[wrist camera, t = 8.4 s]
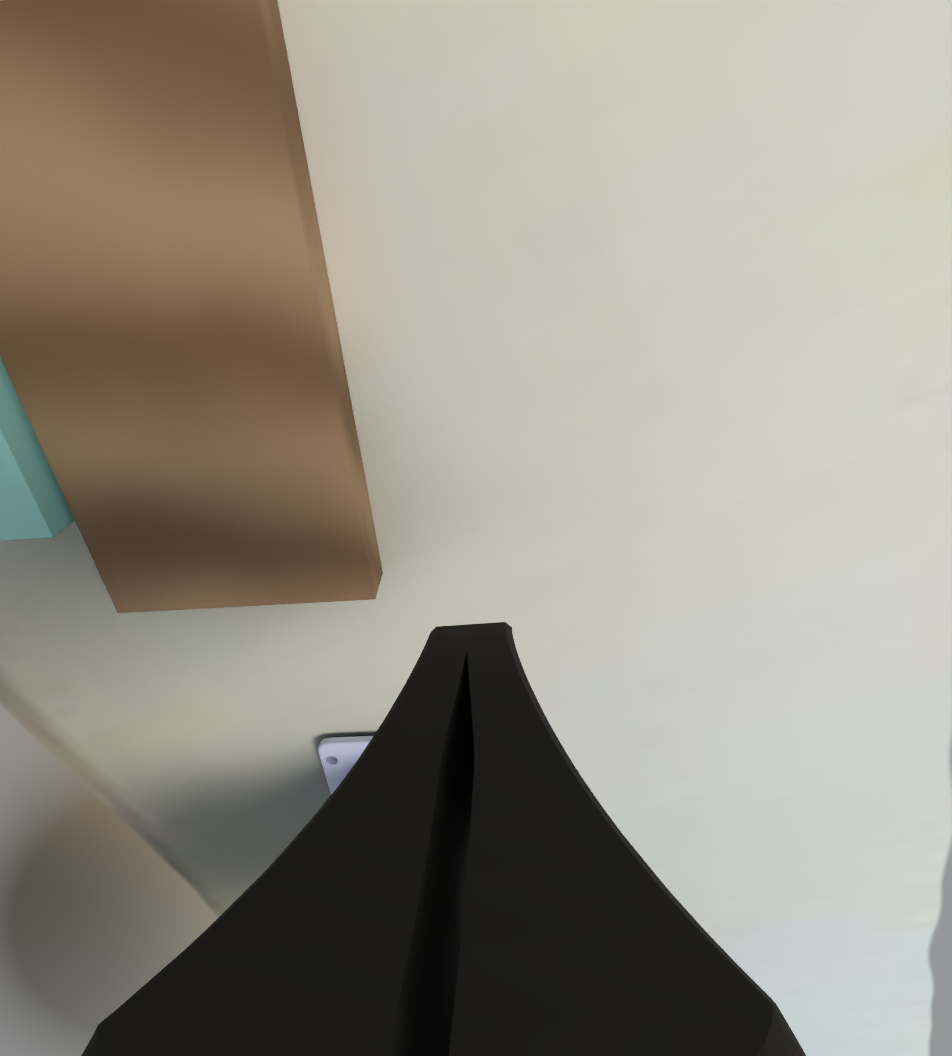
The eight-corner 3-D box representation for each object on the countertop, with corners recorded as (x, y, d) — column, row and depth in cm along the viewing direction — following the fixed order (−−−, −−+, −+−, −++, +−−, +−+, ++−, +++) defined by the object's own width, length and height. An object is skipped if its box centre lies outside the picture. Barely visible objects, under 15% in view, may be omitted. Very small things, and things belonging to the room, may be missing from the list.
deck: (382, 572, 22) (375, 599, 20) (141, 586, 22) (117, 612, 21) (275, -6, 14) (252, -28, 12) (-93, 34, 14) (-156, 17, 13)
